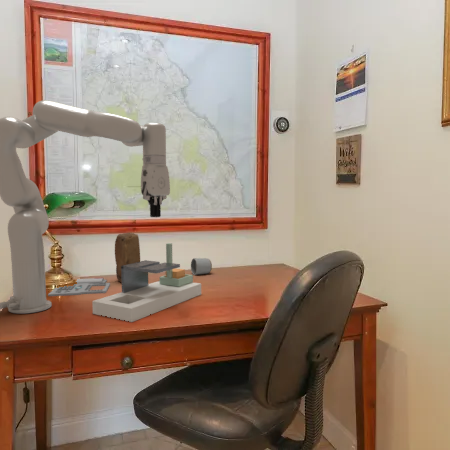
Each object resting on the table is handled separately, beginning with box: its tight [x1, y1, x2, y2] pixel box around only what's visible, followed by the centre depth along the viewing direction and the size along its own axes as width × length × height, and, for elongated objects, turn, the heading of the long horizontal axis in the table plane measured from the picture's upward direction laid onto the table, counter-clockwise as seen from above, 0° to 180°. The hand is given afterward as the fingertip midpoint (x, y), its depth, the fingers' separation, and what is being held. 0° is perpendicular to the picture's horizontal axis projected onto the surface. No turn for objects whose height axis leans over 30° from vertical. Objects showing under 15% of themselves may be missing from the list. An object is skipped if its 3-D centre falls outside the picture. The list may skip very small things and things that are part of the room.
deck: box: [92, 280, 202, 323], centre depth 137 cm, size 36×16×4 cm, turn 149°
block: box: [114, 232, 141, 283], centre depth 169 cm, size 11×8×20 cm
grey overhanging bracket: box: [121, 259, 181, 293], centre depth 137 cm, size 12×15×9 cm
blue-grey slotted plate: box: [47, 277, 111, 297], centre depth 160 cm, size 23×3×20 cm
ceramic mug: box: [190, 257, 213, 276], centre depth 186 cm, size 10×8×7 cm
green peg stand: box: [159, 242, 194, 287], centre depth 148 cm, size 9×9×15 cm
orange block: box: [164, 268, 186, 279], centre depth 148 cm, size 5×5×5 cm
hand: (155, 216), depth 138 cm, fingers closed
